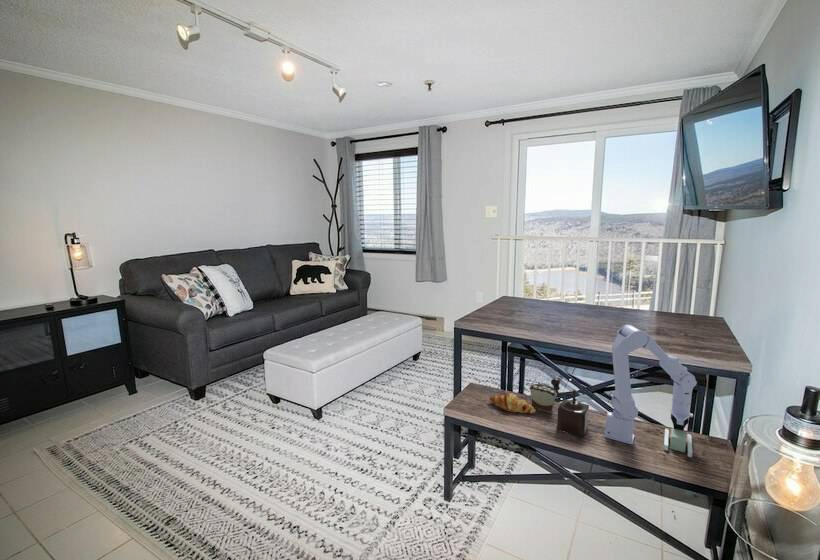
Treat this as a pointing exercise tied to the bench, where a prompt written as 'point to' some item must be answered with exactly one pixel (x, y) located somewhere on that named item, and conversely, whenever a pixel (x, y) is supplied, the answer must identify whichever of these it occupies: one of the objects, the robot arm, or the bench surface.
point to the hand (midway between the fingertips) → (677, 434)
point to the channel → (688, 441)
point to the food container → (543, 397)
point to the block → (678, 440)
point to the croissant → (512, 403)
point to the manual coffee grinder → (571, 413)
